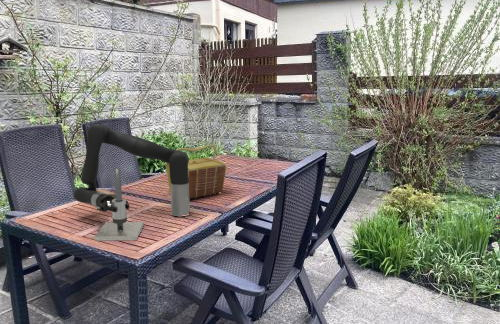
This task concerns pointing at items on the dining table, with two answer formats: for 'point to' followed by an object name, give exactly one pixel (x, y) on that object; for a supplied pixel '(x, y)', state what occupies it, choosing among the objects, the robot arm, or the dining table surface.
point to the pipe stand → (119, 230)
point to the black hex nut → (119, 221)
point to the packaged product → (106, 192)
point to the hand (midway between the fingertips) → (122, 208)
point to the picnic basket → (203, 174)
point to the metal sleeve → (119, 209)
